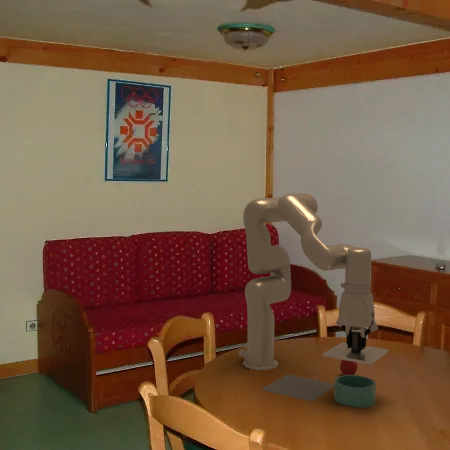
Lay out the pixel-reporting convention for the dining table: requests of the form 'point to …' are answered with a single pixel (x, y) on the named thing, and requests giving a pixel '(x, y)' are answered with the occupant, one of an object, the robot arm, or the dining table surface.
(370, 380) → the bowl
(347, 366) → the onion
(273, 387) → the mat
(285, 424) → the dining table surface
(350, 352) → the lid
